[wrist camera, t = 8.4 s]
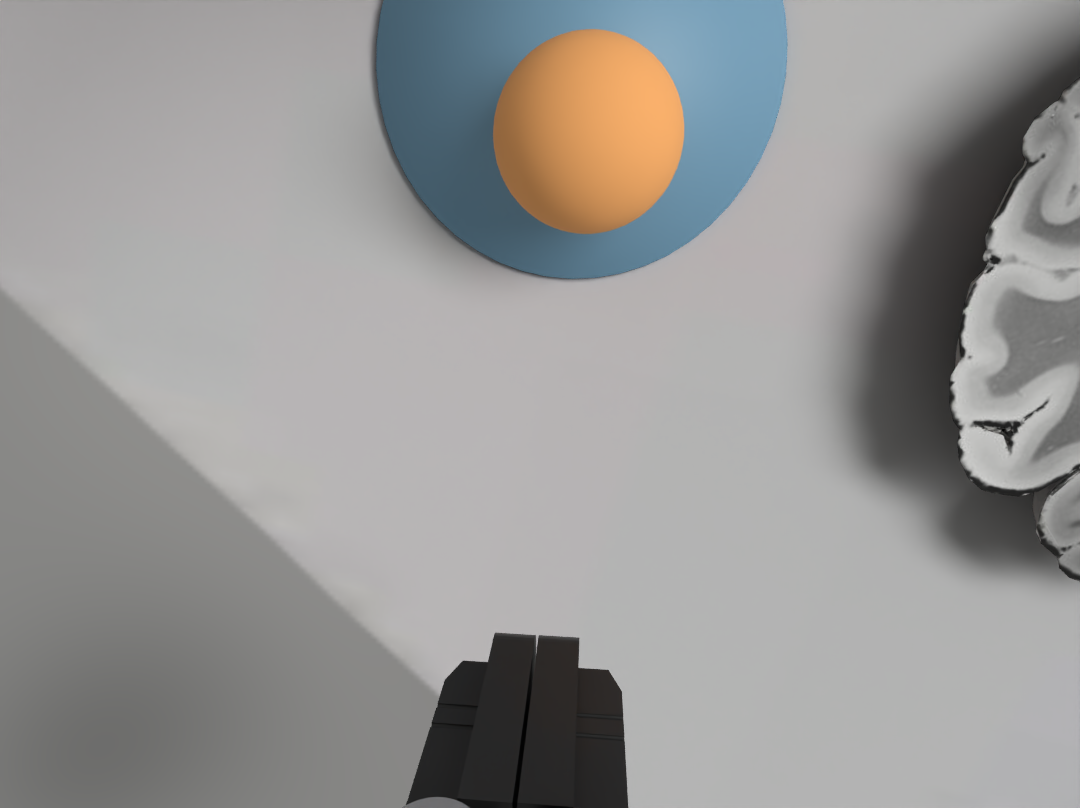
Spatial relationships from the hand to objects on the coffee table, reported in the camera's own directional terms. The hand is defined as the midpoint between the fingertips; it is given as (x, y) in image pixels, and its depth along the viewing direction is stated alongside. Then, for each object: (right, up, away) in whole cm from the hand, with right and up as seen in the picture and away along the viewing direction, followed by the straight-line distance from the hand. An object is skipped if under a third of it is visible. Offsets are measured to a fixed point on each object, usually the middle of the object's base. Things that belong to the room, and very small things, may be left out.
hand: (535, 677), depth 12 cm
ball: (+1, +13, +8) cm, 15 cm away
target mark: (+1, +15, +10) cm, 18 cm away
